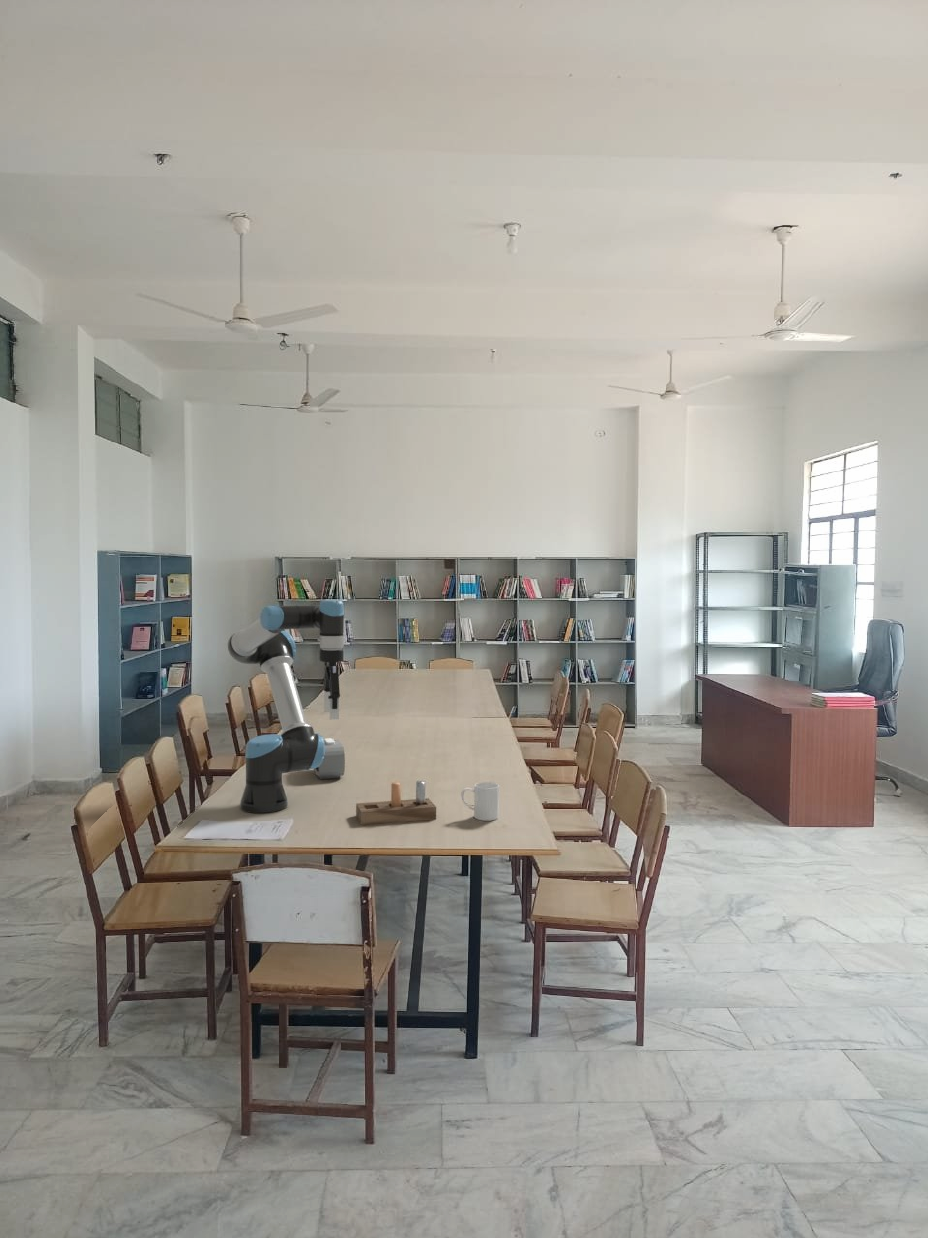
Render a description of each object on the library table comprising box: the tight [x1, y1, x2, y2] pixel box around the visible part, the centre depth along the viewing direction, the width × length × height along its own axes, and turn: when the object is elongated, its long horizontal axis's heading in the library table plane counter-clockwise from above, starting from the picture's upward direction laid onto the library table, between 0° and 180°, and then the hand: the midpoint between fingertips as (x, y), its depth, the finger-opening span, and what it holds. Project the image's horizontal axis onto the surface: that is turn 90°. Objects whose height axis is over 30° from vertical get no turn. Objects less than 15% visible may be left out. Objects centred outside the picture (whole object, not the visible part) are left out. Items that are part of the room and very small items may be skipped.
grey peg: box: [415, 780, 426, 806], centre depth 266 cm, size 3×3×11 cm
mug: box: [460, 781, 500, 822], centre depth 264 cm, size 12×8×10 cm, turn 103°
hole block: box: [355, 797, 437, 826], centre depth 264 cm, size 10×24×4 cm, turn 107°
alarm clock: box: [313, 737, 346, 780], centre depth 317 cm, size 21×10×13 cm, turn 18°
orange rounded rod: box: [390, 781, 402, 807], centre depth 263 cm, size 3×3×11 cm
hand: (331, 715), depth 262 cm, fingers open, 13 cm apart
